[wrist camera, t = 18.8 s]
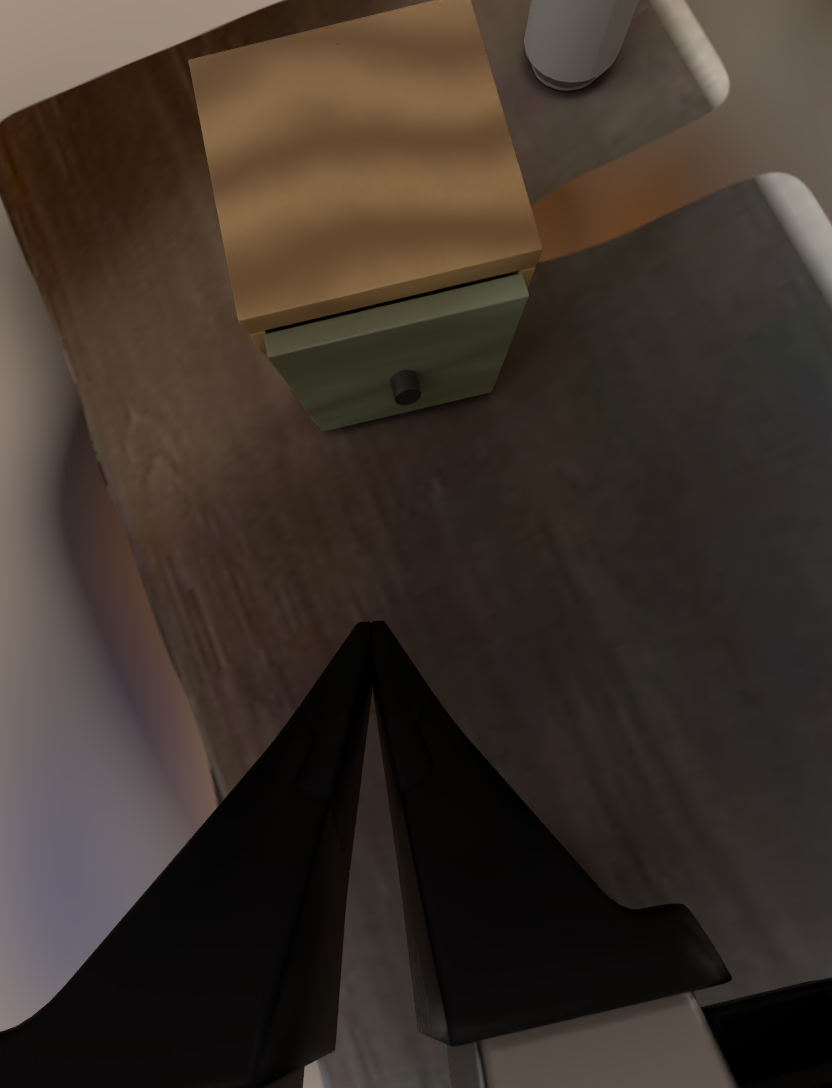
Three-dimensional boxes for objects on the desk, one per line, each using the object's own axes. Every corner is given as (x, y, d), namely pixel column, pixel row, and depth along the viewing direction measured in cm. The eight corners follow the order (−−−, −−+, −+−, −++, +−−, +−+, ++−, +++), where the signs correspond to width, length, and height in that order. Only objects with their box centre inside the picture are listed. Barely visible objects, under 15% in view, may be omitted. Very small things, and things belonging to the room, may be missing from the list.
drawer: (496, 408, 22) (536, 319, 14) (325, 448, 22) (271, 381, 14) (451, 236, 23) (465, 66, 15) (289, 274, 23) (221, 125, 15)
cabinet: (493, 382, 23) (543, 248, 13) (315, 424, 23) (237, 320, 13) (450, 221, 24) (468, -9, 14) (281, 261, 24) (187, 59, 15)
